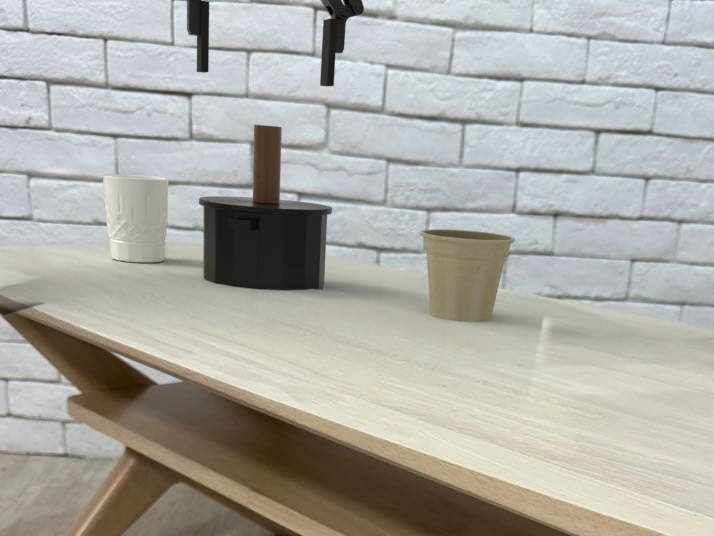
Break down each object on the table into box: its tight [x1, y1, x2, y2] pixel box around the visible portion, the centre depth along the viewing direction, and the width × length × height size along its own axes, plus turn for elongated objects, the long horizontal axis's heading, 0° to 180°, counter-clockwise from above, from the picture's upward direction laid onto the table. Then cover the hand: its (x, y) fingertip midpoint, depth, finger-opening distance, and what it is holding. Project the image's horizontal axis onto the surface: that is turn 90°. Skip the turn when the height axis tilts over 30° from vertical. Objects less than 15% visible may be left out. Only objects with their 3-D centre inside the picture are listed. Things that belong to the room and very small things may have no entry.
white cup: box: [102, 173, 169, 264], centre depth 126 cm, size 8×8×10 cm
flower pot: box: [419, 228, 516, 323], centre depth 100 cm, size 9×9×9 cm
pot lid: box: [198, 124, 333, 216], centre depth 110 cm, size 15×15×9 cm
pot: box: [202, 206, 328, 291], centre depth 113 cm, size 14×19×8 cm
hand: (266, 79), depth 107 cm, fingers open, 13 cm apart
